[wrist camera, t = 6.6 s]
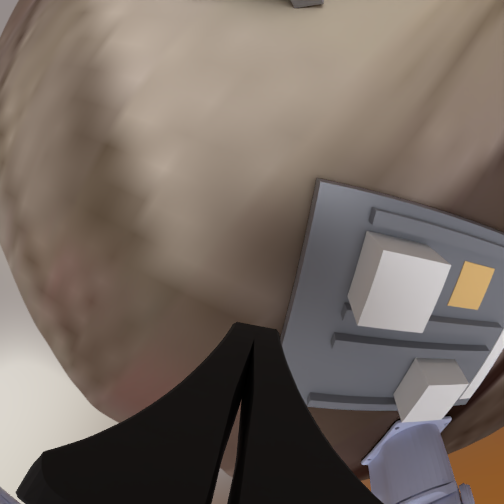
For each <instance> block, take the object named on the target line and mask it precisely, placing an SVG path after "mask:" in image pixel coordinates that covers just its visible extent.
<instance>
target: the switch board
mask: <svg viewBox="0 0 504 504" xmlns="http://www.w3.org/2000/svg"><path fill="white" fill-rule="evenodd" d="M367 231H370V232H375V233H379V234H384V235H388V236H392V237H397V238H401V239H405V240H409V241H413V242H418V243H422V244H426V245H428V246H429V247H430V248H432V249H433V250H434V251H435V252H436V253H438V254H439V255H440V256H441V257H442V258H444V259H445V260H446V261H447V262H448V263H449V264H451V267H450V270H449V273H448V275H447V278H446V281H445V283H444V286H443V288H442V291H441V293H440V296H439V298H438V300H437V303H436V305H435V307H434V309H433V312H432V314H431V316H430V318H429V320H428V322H427V324H426V327H425V329H424V331H423V333H416V332H407V331H397V330H389V329H380V328H372V327H365V326H357V323H356V320H355V317H354V314H353V311H352V308H351V305H350V302H349V299H348V297H347V296H348V293H349V290H350V287H351V283H352V280H353V277H354V274H355V271H356V267H357V264H358V260H359V257H360V254H361V250H362V247H363V243H364V239H365V236H366V232H367ZM280 341H281V345H282V348H283V352H284V355H285V358H286V361H287V363H288V366H289V369H290V371H291V374H292V376H293V378H294V381H295V383H296V386H297V388H298V390H299V392H300V394H301V396H302V398H303V400H304V402H305V404H307V407H317V408H329V409H343V410H367V411H398V408H397V405H396V402H395V399H394V395H393V394H394V392H395V391H396V389H397V388H398V386H399V385H400V383H401V381H402V380H403V378H404V376H405V375H406V373H407V371H408V370H409V368H410V366H411V365H412V363H413V361H414V359H415V358H437V359H455V360H456V362H457V364H458V365H459V367H460V369H461V371H462V372H463V374H464V376H465V378H466V379H467V381H468V383H469V385H468V386H467V387H466V389H465V390H464V392H463V393H462V394H461V396H460V397H459V398H458V400H457V401H456V402H455V403H454V405H453V406H455V405H464V404H466V403H467V402H468V400H469V399H470V398H471V396H472V395H473V394H474V392H475V391H476V390H477V388H478V387H479V385H480V384H481V383H482V381H483V380H484V378H485V377H486V375H487V374H488V372H489V371H490V369H491V368H492V366H493V365H494V363H495V362H496V360H497V358H498V357H499V355H500V353H501V352H502V350H503V348H504V233H503V232H501V231H498V230H496V229H493V228H491V227H488V226H485V225H483V224H480V223H477V222H474V221H472V220H469V219H466V218H463V217H460V216H457V215H454V214H451V213H448V212H445V211H442V210H439V209H436V208H433V207H429V206H426V205H423V204H420V203H416V202H413V201H409V200H406V199H402V198H399V197H395V196H391V195H388V194H384V193H380V192H376V191H372V190H368V189H364V188H360V187H356V186H352V185H348V184H343V183H339V182H334V181H330V180H325V179H320V178H317V179H316V184H315V189H314V194H313V199H312V204H311V209H310V214H309V219H308V224H307V228H306V233H305V238H304V242H303V247H302V251H301V256H300V260H299V265H298V269H297V273H296V278H295V282H294V286H293V290H292V294H291V298H290V302H289V306H288V310H287V314H286V318H285V322H284V326H283V330H282V334H281V338H280Z"/></svg>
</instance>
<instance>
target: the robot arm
mask: <svg viewBox="0 0 504 504" xmlns="http://www.w3.org/2000/svg"><path fill="white" fill-rule="evenodd" d="M241 399H242V402H241ZM240 402H241V412H240V423H239V434H238V445H237V456H236V463H235V469H234V474H233V479H232V484H231V489H230V493H229V498H228V503H227V504H475V502H474V499H473V495H472V492H471V488H470V486H469V485H465V484H464V483H463V484H461V485H459V488H460V492H461V493H460V492H459V489H458V486H457V483H456V481H455V478H454V475H453V471H452V468H451V465H450V461H449V458H448V455H447V452H446V449H445V446H444V443H443V440H442V437H441V434H440V433H441V432H442V430H443V429H444V428H445V427H446V426H447V425H448V424H449V423H450V421H451V420H452V418H451V416H447V417H443V418H442V419H441V420H431V421H419V422H403V423H402V422H401V420H399V421H397V422H395V424H394V425H393V426H392V427H391V428H390V430H389V431H388V432H387V433H386V435H385V436H384V437H383V438H382V439H381V440H380V442H379V443H378V444H377V445H376V446H375V447H374V448H373V450H372V451H371V452H370V453H369V454H368V455H367V456H366V457H365V458H364V459H363V460H362V461H361V464H362V465H368V467H369V475H370V483H371V491H370V490H369V489H368V488H367V487H366V486H365V485H364V484H363V483H362V482H361V481H360V480H359V479H358V478H357V477H356V476H355V475H354V473H353V472H352V471H351V470H350V469H349V467H348V466H347V465H346V464H345V463H344V461H343V460H342V459H341V458H340V457H339V455H338V454H337V453H336V452H335V450H334V449H333V448H332V446H331V445H330V443H329V442H328V440H327V439H326V438H325V436H324V435H323V433H322V432H321V430H320V428H319V427H318V425H317V424H316V422H315V420H314V419H313V417H312V415H311V413H310V412H309V410H308V408H307V406H306V404H305V402H304V400H303V398H302V396H301V394H300V392H299V390H298V388H297V386H296V383H295V381H294V378H293V376H292V374H291V371H290V369H289V366H288V363H287V361H286V358H285V355H284V352H283V348H282V345H281V341H280V336H279V332H278V331H277V330H276V329H271V328H266V327H260V326H255V325H250V324H244V323H239V322H236V323H234V324H233V325H232V327H231V328H230V330H229V331H228V333H227V334H226V336H225V337H224V338H223V340H222V341H221V342H220V343H219V345H218V346H217V347H216V348H215V349H214V350H213V351H212V353H211V354H210V355H209V356H208V357H207V358H206V359H205V360H204V361H203V362H202V363H201V364H200V365H199V366H198V367H197V368H196V369H195V370H194V371H193V372H192V373H191V374H190V375H188V376H187V377H186V378H185V379H184V380H183V381H182V382H181V383H179V384H178V385H177V386H176V387H175V388H173V389H172V390H171V391H169V392H168V393H167V394H165V395H164V396H163V397H161V398H160V399H159V400H157V401H156V402H154V403H153V404H151V405H150V406H148V407H146V408H145V409H143V410H142V411H140V412H139V413H137V414H135V415H134V416H132V417H130V418H128V419H126V420H125V421H123V422H121V423H119V424H117V425H114V426H112V427H110V428H108V429H106V430H104V431H102V432H100V433H97V434H95V435H93V436H90V437H88V438H85V439H83V440H80V441H77V442H74V443H71V444H67V445H64V446H61V447H58V448H55V449H51V450H47V451H45V452H43V453H42V454H41V456H40V457H39V458H38V459H37V460H36V461H35V462H34V464H33V465H32V466H31V468H30V469H29V471H28V472H27V474H26V476H25V478H24V479H23V481H22V482H21V484H20V486H19V487H18V489H17V491H16V494H17V497H18V498H19V499H20V500H21V501H23V502H24V503H25V504H211V503H212V499H213V494H214V490H215V486H216V482H217V477H218V472H219V469H220V464H221V461H222V458H223V454H224V451H225V448H226V445H227V442H228V439H229V436H230V433H231V430H232V427H233V424H234V421H235V418H236V415H237V412H238V409H239V405H240ZM460 495H461V496H460ZM461 499H462V500H461ZM0 504H20V503H19V502H18V501H17V500H15V499H14V498H13V497H12V496H10V495H9V494H8V493H7V492H6V491H4V490H3V489H2V488H1V487H0Z"/></svg>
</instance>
